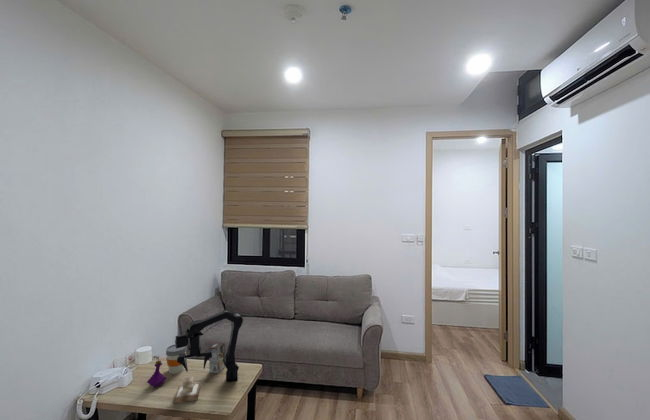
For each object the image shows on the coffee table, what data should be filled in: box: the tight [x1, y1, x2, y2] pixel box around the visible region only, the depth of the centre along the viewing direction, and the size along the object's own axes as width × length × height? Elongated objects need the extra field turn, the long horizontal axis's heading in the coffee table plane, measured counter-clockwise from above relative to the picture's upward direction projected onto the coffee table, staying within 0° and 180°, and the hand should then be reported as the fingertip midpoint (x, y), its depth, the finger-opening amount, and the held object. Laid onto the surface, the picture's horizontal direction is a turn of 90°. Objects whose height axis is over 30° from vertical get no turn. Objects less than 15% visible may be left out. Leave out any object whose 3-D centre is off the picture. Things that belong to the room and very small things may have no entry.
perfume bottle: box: [147, 354, 167, 388], centre depth 184 cm, size 8×8×18 cm
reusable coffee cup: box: [165, 344, 188, 375], centre depth 202 cm, size 13×13×15 cm
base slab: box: [173, 382, 202, 405], centre depth 173 cm, size 12×12×3 cm
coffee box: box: [208, 341, 226, 374], centre depth 202 cm, size 9×6×16 cm
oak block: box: [182, 376, 194, 393], centre depth 173 cm, size 5×5×6 cm
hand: (195, 370), depth 179 cm, fingers open, 9 cm apart
